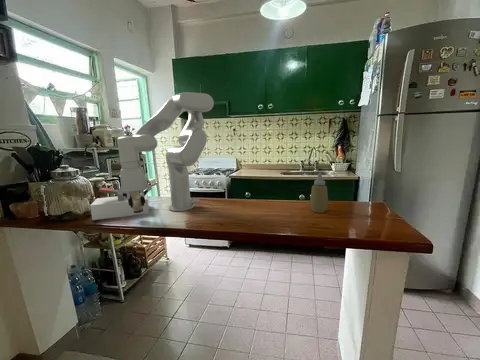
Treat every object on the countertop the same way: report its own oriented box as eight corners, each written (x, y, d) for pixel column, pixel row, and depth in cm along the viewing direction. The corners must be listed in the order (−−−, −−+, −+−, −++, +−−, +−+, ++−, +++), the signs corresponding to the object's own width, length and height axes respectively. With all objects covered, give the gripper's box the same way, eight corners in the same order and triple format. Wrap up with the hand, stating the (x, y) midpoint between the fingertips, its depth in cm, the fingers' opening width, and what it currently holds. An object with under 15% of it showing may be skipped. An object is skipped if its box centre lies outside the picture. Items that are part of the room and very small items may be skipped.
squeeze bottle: (308, 213, 111) (309, 174, 108) (310, 208, 119) (311, 171, 116) (327, 214, 108) (328, 174, 105) (328, 209, 116) (329, 172, 113)
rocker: (140, 195, 125) (140, 192, 125) (139, 197, 120) (140, 194, 120) (100, 189, 119) (101, 187, 118) (98, 191, 114) (99, 189, 114)
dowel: (143, 209, 111) (139, 183, 109) (143, 212, 108) (139, 185, 105) (134, 210, 110) (129, 185, 108) (133, 213, 106) (129, 187, 104)
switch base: (148, 206, 132) (146, 186, 130) (148, 213, 119) (146, 191, 117) (98, 211, 124) (95, 191, 122) (92, 220, 111) (89, 197, 109)
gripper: (151, 162, 111) (157, 200, 115) (110, 166, 105) (118, 206, 109) (151, 164, 104) (157, 205, 108) (108, 168, 98) (115, 211, 102)
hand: (137, 205), depth 108 cm, fingers closed on dowel, 4 cm apart
